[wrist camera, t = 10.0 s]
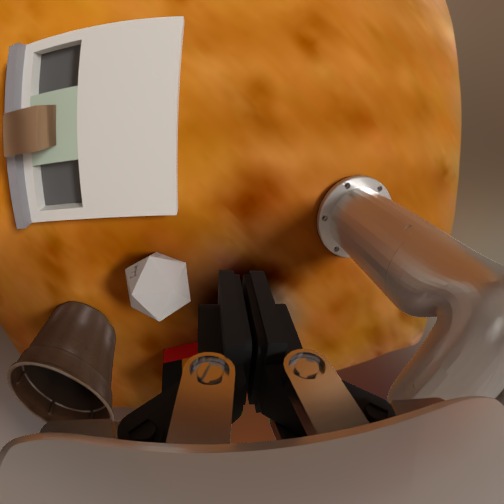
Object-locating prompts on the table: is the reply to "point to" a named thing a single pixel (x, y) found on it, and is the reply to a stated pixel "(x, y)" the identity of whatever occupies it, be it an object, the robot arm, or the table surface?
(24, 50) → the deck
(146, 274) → the die
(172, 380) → the puzzle toy
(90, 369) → the plant pot
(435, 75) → the table surface
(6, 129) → the block
